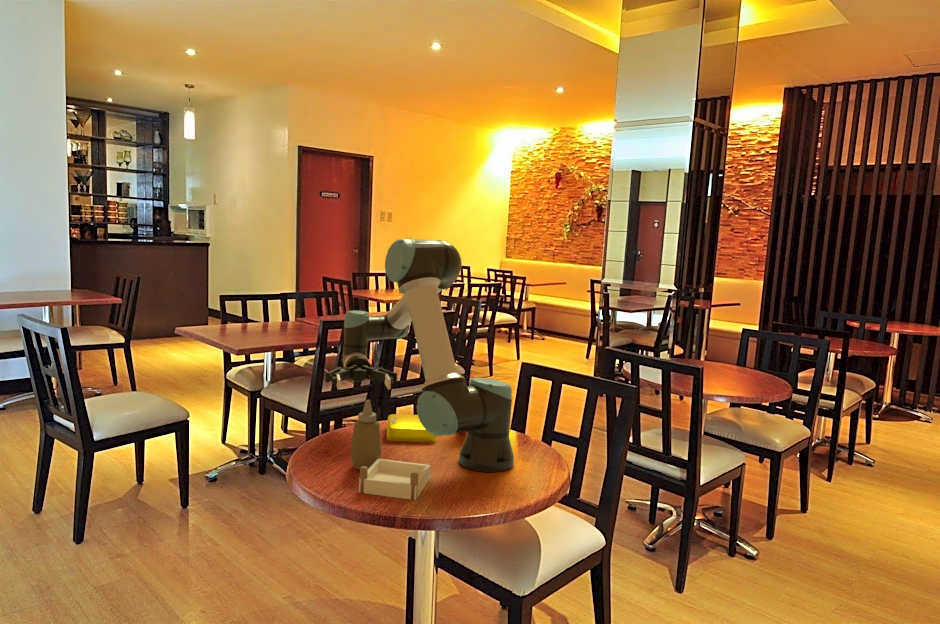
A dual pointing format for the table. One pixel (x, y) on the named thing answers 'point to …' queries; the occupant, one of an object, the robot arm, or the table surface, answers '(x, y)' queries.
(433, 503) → the table surface
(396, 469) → the tray
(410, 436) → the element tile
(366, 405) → the squeeze bottle
